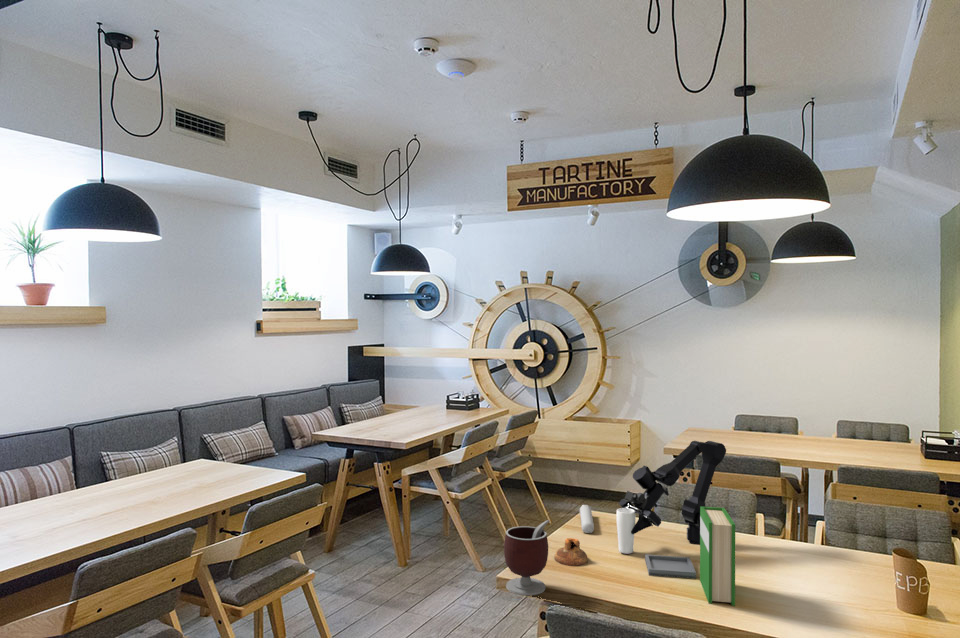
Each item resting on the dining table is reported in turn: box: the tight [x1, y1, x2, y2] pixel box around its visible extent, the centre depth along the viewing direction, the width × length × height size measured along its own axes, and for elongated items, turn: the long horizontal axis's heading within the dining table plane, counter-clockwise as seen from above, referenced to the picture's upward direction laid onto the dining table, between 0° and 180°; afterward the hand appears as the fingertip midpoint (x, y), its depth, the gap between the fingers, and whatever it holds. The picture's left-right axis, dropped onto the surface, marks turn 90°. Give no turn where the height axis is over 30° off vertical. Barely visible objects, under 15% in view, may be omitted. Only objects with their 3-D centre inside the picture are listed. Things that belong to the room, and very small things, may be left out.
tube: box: [579, 504, 595, 534], centre depth 262 cm, size 5×5×25 cm
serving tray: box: [644, 553, 697, 580], centre depth 214 cm, size 15×14×2 cm
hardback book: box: [699, 506, 736, 607], centre depth 196 cm, size 18×7×24 cm, turn 169°
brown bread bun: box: [553, 537, 589, 567], centre depth 222 cm, size 12×12×7 cm
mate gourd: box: [503, 519, 550, 597], centre depth 199 cm, size 16×14×20 cm
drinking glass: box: [615, 507, 636, 555], centre depth 230 cm, size 7×7×15 cm
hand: (626, 530), depth 230 cm, fingers closed on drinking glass, 6 cm apart
